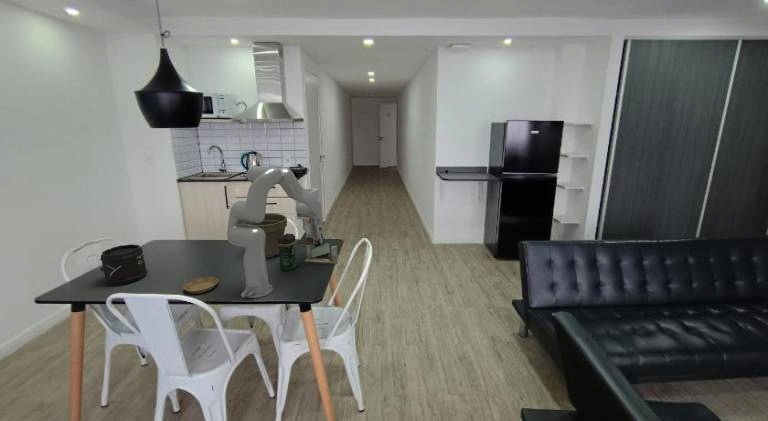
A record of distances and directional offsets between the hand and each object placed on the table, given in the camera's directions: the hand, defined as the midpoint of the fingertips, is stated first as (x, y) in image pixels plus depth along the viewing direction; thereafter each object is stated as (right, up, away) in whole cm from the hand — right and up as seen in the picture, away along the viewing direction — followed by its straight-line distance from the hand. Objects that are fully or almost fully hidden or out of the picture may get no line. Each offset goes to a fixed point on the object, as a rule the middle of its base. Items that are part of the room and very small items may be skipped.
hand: (318, 250), depth 203 cm
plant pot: (-31, -3, +4) cm, 31 cm away
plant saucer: (-48, -14, -38) cm, 63 cm away
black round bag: (-92, -12, -27) cm, 97 cm away
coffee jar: (-12, -8, -16) cm, 22 cm away
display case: (-9, +2, +21) cm, 22 cm away
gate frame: (+4, -5, -9) cm, 11 cm away
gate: (+2, -3, -2) cm, 4 cm away
